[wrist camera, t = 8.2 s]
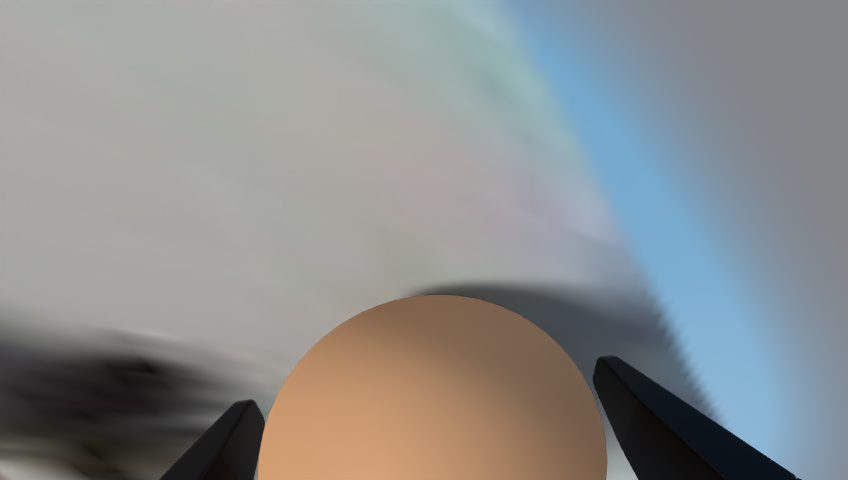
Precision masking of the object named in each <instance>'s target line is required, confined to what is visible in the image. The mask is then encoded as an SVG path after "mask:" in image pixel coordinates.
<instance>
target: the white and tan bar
mask: <svg viewBox="0 0 848 480" xmlns="http://www.w3.org/2000/svg"><path fill="white" fill-rule="evenodd" d="M606 475H607V451H606V439H605V433H604V429H603V424H602V420H601V416H600V412H599V409H598V407H597V404H596V401H595V399H594V396H593V393H592V391H591V390H590V388H589V386H588V384H587V382H586V380H585V378H584V376H583V374H582V373H581V372H580V370H579V369H578V367H577V366H576V364H575V363H574V361H573V360H572V359H571V357H570V356H569V355H568V354H567V353H566V352H565V351H564V349H563V348H562V347H561V346H560V345H559V344H558V343H557V342H556V341H555V340H554V339H553V338H551V337H550V336H549V335H548V334H547V333H546V332H545V331H543V330H542V329H540V328H539V327H538V326H536V325H535V324H534V323H532V322H531V321H529V320H527V319H526V318H524V317H522V316H521V315H519V314H517V313H515V312H513V311H510V310H508V309H506V308H504V307H501V306H498V305H496V304H493V303H490V302H486V301H483V300H479V299H475V298H469V297H463V296H454V295H424V296H415V297H409V298H403V299H399V300H395V301H391V302H388V303H385V304H381V305H378V306H376V307H373V308H371V309H369V310H366V311H364V312H362V313H360V314H358V315H356V316H354V317H352V318H350V319H349V320H347V321H345V322H344V323H342V324H341V325H339V326H338V327H336V328H335V329H333V330H332V331H331V332H330V333H328V334H327V335H326V336H324V337H323V338H322V339H321V340H320V341H319V342H318V343H317V344H315V345H314V346H313V347H312V348H311V349H310V350H309V351H308V352H307V354H306V355H305V356H304V357H303V358H302V359H301V360H300V361H299V363H298V364H297V365H296V367H295V368H294V369H293V371H292V372H291V373H290V375H289V376H288V378H287V379H286V381H285V383H284V384H283V386H282V388H281V390H280V391H279V393H278V395H277V397H276V399H275V402H274V404H273V406H272V409H271V411H270V413H269V416H268V419H267V423H266V426H265V429H264V432H263V437H262V442H261V448H260V454H259V468H258V480H606Z"/></svg>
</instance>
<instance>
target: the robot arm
mask: <svg viewBox="0 0 848 480" xmlns="http://www.w3.org/2000/svg"><path fill="white" fill-rule="evenodd" d="M593 384H594V387H595V389H596V392H597V394H598V396H599V399H600V401H601V403H602V405H603V408H604V410H605V412H606V415H607V417H608V419H609V422H610V424H611V426H612V428H613V431H614V433H615V435H616V438H617V440H618V442H619V444H620V446H621V448H622V450H623V452H624V454H625V456H626V458H627V460H628V461H629V463H630V465H631V467H632V469H633V471H634V472H635V474H636V476H637V478H638V480H801V479H799V478H796V477H795V475H794V474H792V473H791V472H789V471H788V470H786V469H785V468H783V467H782V466H780V465H779V464H777V463H776V462H774V461H772V460H771V459H770V458H768V457H767V456H765V455H763V454H762V453H761V452H759V451H758V450H756V449H755V448H753V447H752V446H750V445H749V444H747V443H746V442H744V441H743V440H741V439H740V438H738V437H737V436H735V435H734V434H732V433H731V432H729V431H728V430H726V429H725V428H723V427H722V426H720V425H719V424H717V423H716V422H714V421H713V420H711V419H710V418H708V417H707V416H705V415H704V414H702V413H701V412H699V411H698V410H696V409H695V408H693V407H692V406H690V405H689V404H687V403H686V402H684V401H683V400H681V399H680V398H678V397H677V396H675V395H674V394H672V393H671V392H669V391H668V390H666V389H665V388H663V387H662V386H660V385H659V384H657V383H656V382H654V381H653V380H651V379H650V378H648V377H647V376H645V375H644V374H642V373H641V372H639V371H638V370H636V369H635V368H633V367H632V366H630V365H629V364H627V363H626V362H624V361H623V360H621V359H620V358H618V357H616V356H613V355H610V356H602V357H599V358H598V359H597V361H596V366H595V370H594V374H593ZM264 427H265V421H264V417H263V415H262V413H261V411H260V409H259V407H258V406H257V404H256V402H255V401H254V400H252V399H250V400H241V401H237V402H235V403H234V404H233V405H232V406H231V407H230V408H229V409H228V410H227V411H226V412H225V413H224V414H223V415H222V416H221V417H220V418H219V419H218V420H217V421H216V422H215V423H214V424H213V425H212V426H211V427H210V428H209V429H208V430H207V431H206V432H205V433H204V434H203V435H202V436H201V437H200V438H199V439H198V440H197V441H196V442H195V443H194V445H193V446H192V447H191V448H190V449H189V450H188V451H187V452H186V453H185V454H184V455H183V456H182V457H181V458H180V459H179V460H178V461H177V462H176V463H175V464H174V465H173V466H172V467H171V468H170V469H169V470H168V471H167V472H166V473H165V474H164V475H163V476H162V477H161V478H160V479H159V480H254V475H255V470H256V466H257V461H258V456H259V451H260V447H261V442H262V437H263V432H264Z"/></svg>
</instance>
